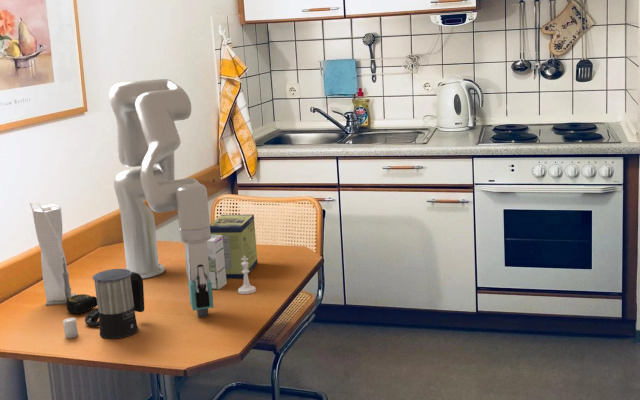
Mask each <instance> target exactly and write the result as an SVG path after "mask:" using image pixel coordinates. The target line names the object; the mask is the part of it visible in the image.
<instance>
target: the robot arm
mask: <svg viewBox="0 0 640 400" xmlns="http://www.w3.org/2000/svg"><path fill="white" fill-rule="evenodd" d="M109 103H110V106H111V109H112V112H113V115H114V116H115V120H116V133H117V134H116V135H117V136H116V137H117V153H118V160H119V162H120V163H121V165H122V166H124V167H128V168H132V169H126V170H122V171H121V172H118V174H116V176H115V177H114V179H113V187H114V192H115V195H116V200H117V203H118V207H119V213H120V221H121V229H122V240H123V247H124V255H125V263H126V265H125V266H126V267H124V269H127V270H130V271H131V272H135V273H138V274H139V275H140V276H141V277H142V279H150V278H154V277H156V276H159V275H162V274H163V273H164V272H165V270H166V269H165V266H164V264H161V263H160V261H159V252H158V241H157V234H156V223H155V215H154V212H155V213H166V212H172V211H177V220H178V226H179V227H178V228H179V230H178V231H179V238H180V239H179V240H180V243H183V244H184V255H185V256H184V257H185V273H186V277H187V280H188V279H189V281H190V282H193V281H195V284H196V292H195V295H196V305H197V308H202V307H208V306H210V303H209V292H208V288H207V280H208V279H209V261H208V250H207V241H208V240H210V239H211V232H210V224H211V223H210V212H209V211H210V210H209V199H208V190H207V187H206V186H205V184H203V183H200V182H199V181H198V180H197V179H195V178H193V177H192V178H191V177H189V178H181V179H175V152H176V150H177V149H179V148H180V145H181V144H182V143H181V142H182V141H181V137H180V134H179V132H178V130H177V126H176V123H175V122H176V121H184V120H187V119H188V118H190V116H191V115H192V103H191V99H190V97H189V95H188V93H187V92H186V91H185V89H184V88H182V87H181V86H180V85H178V84H177V83H175V82H174V81H173V80H171V79H165V78H161V79H159V78H158V79H148V80H134V81H126V82H119V83H116V84H114V85H113V86H111V88H110V90H109ZM136 167H138V168H136ZM145 201H146V203H147V205H148V206H147V205H146V203H145ZM197 278H199V280H197ZM206 279H207V280H206ZM198 282H200V284H199V285H198Z"/></svg>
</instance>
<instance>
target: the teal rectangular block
mask: <svg viewBox="0 0 640 400" xmlns="http://www.w3.org/2000/svg"><path fill="white" fill-rule="evenodd" d="M187 280H188V281H187V282H188V283H187V284H188V292H189V293H188V294H189V304H190V307H191V309H192V311H197V310H200V309H207V308H208V309H212V308H214V307H215V306H214V297H213V289H212V284H211V281H210V279H208V280H207V279H206V280H207V288H208V292H209V303H210V306H208V307H202V308H197V305H196V295H195V292H196V284H195V281H193V282H190V281H189V279H188V278H187ZM197 280H199V278H197ZM199 284H200V282H198V285H199Z"/></svg>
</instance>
